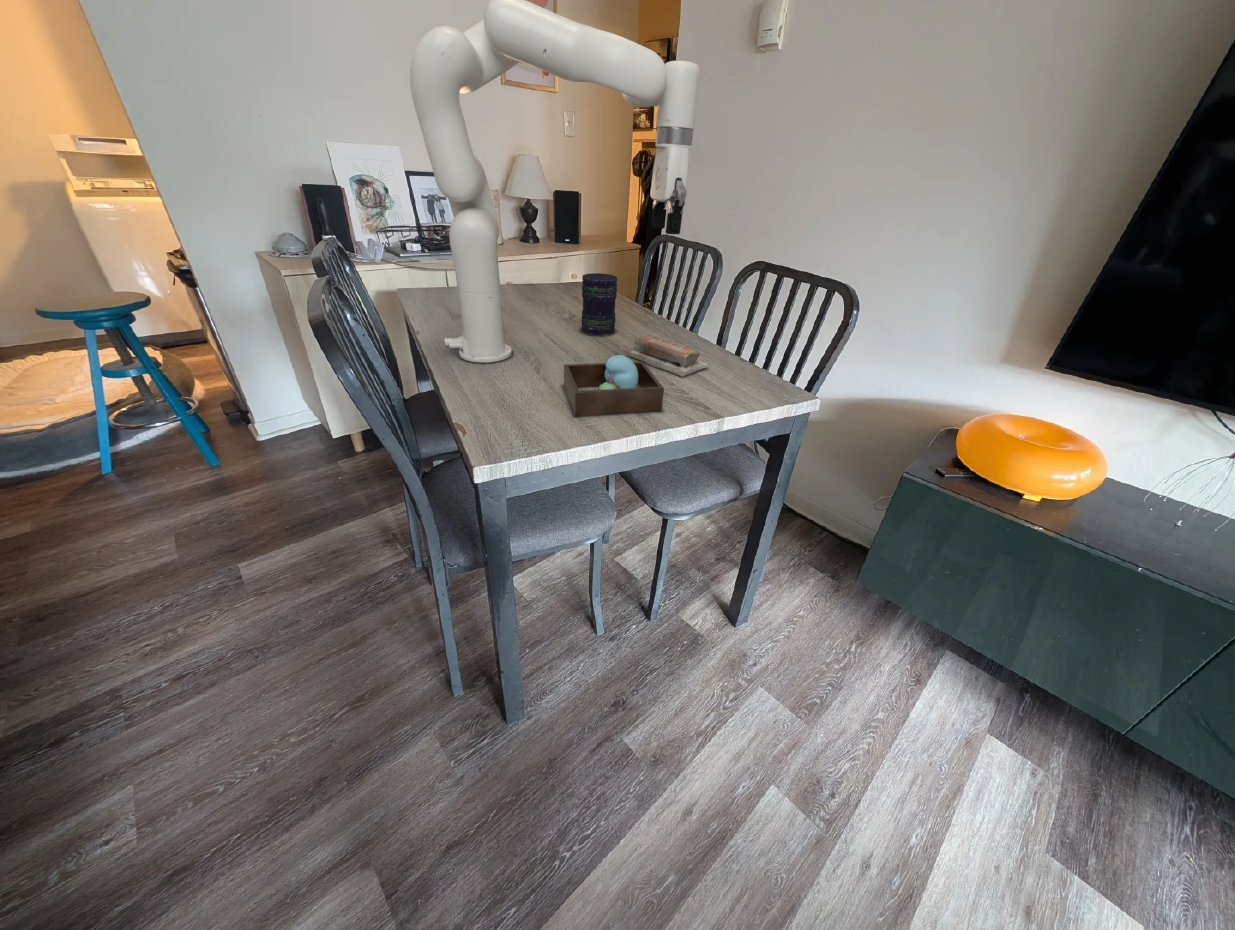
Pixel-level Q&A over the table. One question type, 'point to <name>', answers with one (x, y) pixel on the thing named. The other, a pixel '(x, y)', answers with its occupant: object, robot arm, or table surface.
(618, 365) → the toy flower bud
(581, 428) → the table surface
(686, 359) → the packaged product
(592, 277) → the storage jar
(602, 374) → the crate
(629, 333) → the table surface
